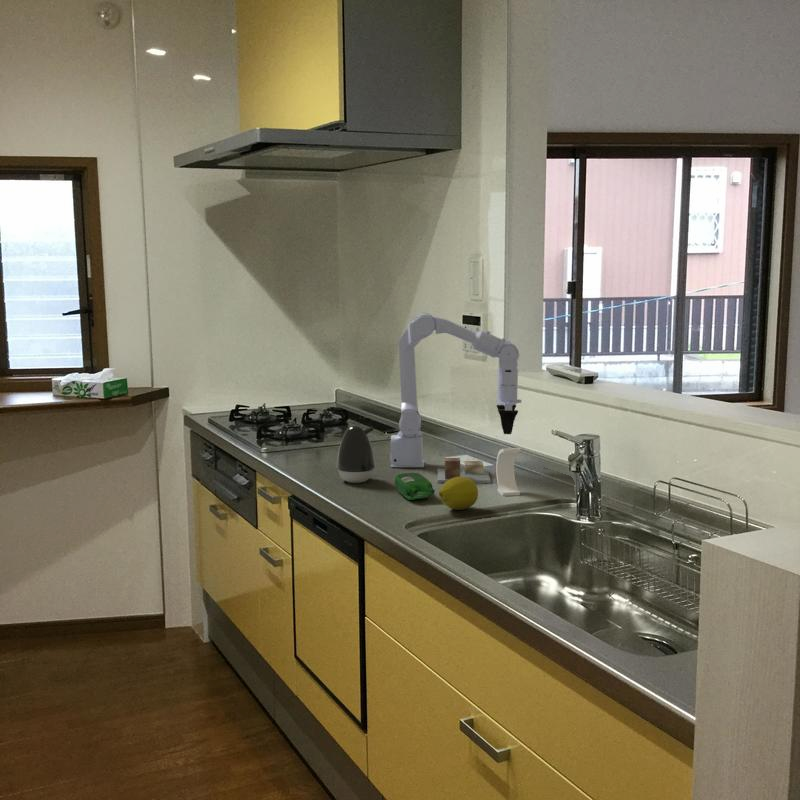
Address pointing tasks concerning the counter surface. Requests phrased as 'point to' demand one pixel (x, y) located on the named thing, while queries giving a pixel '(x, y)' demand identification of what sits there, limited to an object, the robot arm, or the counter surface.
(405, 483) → the snack package
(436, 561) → the counter surface
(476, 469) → the base block
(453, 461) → the walnut block
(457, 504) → the lemon
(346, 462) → the egg-shaped speaker
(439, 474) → the board
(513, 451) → the headphone stand
